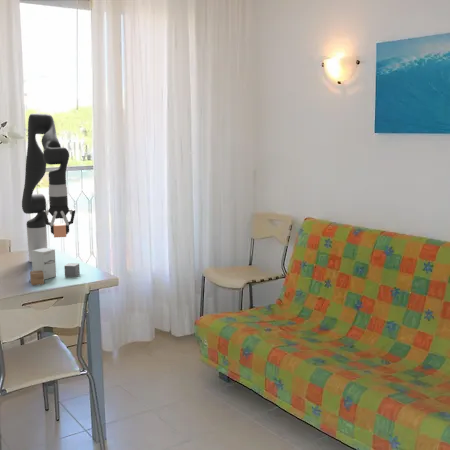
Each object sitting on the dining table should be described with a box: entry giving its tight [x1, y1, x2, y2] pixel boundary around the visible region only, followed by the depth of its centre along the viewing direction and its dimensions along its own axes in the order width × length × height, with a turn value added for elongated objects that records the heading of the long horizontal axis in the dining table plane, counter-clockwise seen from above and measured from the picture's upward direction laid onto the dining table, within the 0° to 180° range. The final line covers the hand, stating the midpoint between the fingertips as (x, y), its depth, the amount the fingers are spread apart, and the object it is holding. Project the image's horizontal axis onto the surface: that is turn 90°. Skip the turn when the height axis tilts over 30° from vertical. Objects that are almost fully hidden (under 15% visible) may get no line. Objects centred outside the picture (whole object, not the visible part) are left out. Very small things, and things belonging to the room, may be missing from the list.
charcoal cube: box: [64, 262, 80, 278], centre depth 274 cm, size 5×5×5 cm
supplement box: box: [31, 247, 57, 281], centre depth 270 cm, size 7×7×13 cm
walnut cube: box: [29, 270, 45, 286], centre depth 261 cm, size 5×5×5 cm
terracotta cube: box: [53, 223, 68, 238], centre depth 261 cm, size 5×5×5 cm
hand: (60, 233), depth 261 cm, fingers closed on terracotta cube, 5 cm apart
